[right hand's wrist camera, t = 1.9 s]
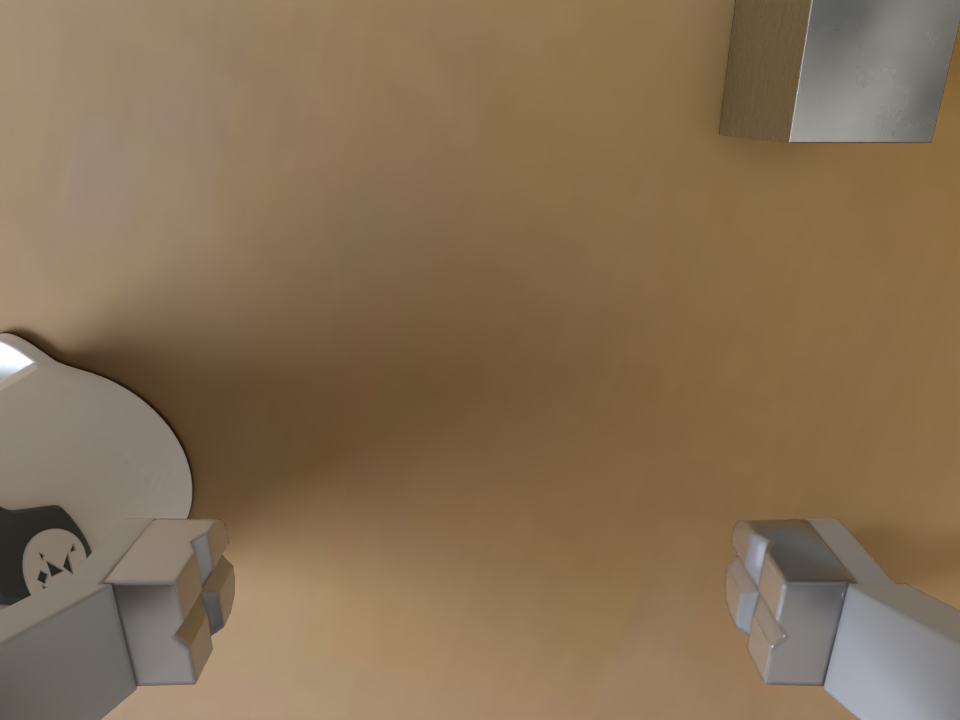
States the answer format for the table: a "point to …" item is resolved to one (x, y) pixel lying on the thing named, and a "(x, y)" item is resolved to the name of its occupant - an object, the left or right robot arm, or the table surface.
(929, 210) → the table surface
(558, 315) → the table surface
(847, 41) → the bar
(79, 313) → the table surface
